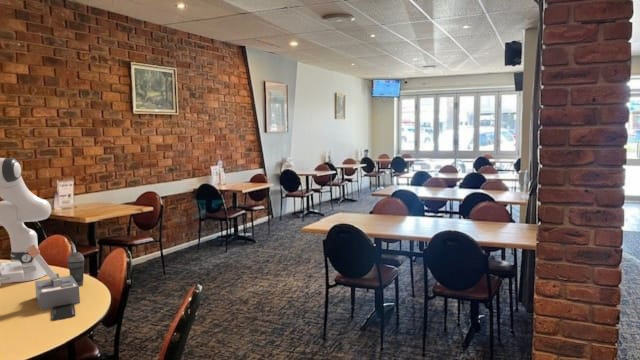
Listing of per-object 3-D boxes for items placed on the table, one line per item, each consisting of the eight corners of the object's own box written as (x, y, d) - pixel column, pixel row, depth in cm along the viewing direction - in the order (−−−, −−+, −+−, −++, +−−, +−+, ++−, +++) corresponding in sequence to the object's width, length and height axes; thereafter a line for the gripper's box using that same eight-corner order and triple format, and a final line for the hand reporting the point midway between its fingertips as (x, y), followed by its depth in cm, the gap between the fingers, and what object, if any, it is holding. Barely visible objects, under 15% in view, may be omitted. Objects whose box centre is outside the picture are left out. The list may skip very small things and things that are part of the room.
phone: (74, 303, 192) (75, 314, 179) (74, 305, 192) (75, 317, 179) (51, 306, 188) (51, 318, 175) (52, 309, 188) (51, 321, 175)
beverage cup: (79, 288, 213) (75, 244, 212) (65, 287, 215) (61, 244, 213) (89, 283, 221) (86, 241, 219) (76, 282, 222) (73, 241, 220)
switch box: (36, 297, 202) (34, 274, 201) (72, 290, 210) (71, 268, 209) (40, 310, 186) (38, 286, 185) (80, 302, 194) (78, 279, 193)
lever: (52, 282, 200) (26, 248, 194) (60, 277, 202) (34, 244, 195) (55, 286, 194) (27, 252, 187) (62, 282, 195) (35, 247, 189)
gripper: (-6, 272, 176) (37, 266, 184) (-7, 261, 193) (33, 255, 201) (-4, 289, 177) (38, 281, 185) (-5, 276, 193) (34, 270, 201)
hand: (35, 268), depth 193 cm, fingers closed
